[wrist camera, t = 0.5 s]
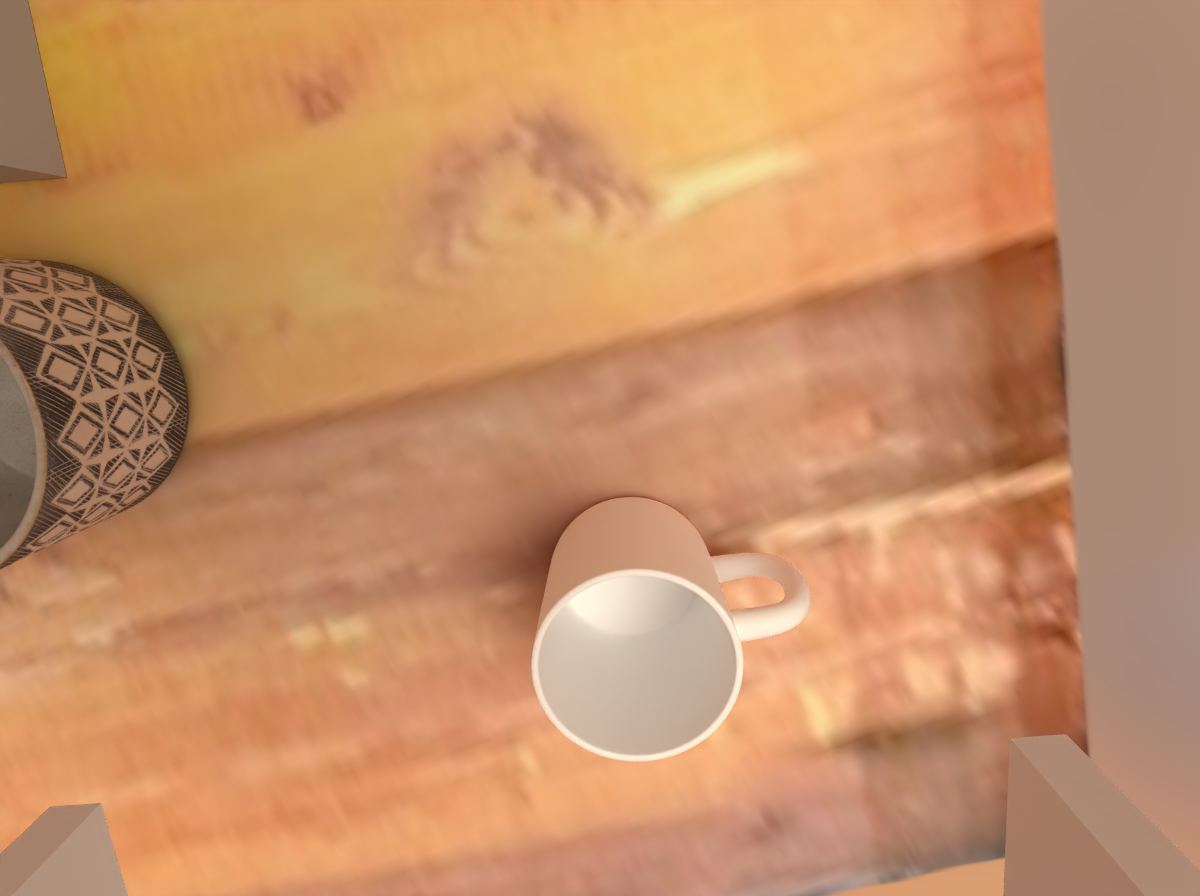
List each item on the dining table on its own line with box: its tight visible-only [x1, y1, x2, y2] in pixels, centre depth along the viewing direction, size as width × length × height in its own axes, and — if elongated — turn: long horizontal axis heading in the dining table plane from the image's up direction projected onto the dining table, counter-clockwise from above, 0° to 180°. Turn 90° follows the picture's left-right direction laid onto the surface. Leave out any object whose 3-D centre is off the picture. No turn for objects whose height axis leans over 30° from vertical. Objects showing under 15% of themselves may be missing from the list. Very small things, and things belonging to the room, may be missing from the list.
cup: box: [531, 497, 810, 761], centre depth 33 cm, size 8×12×10 cm
